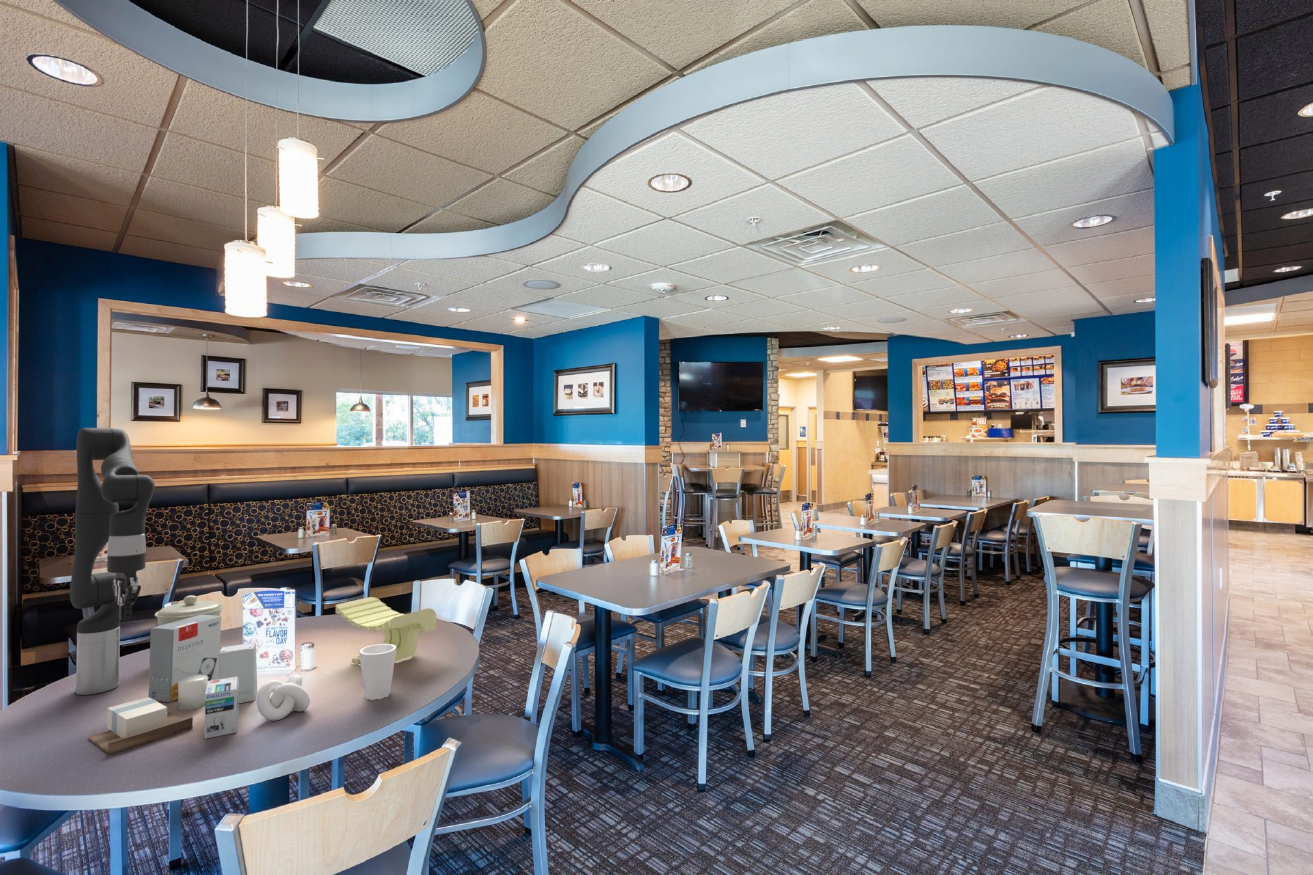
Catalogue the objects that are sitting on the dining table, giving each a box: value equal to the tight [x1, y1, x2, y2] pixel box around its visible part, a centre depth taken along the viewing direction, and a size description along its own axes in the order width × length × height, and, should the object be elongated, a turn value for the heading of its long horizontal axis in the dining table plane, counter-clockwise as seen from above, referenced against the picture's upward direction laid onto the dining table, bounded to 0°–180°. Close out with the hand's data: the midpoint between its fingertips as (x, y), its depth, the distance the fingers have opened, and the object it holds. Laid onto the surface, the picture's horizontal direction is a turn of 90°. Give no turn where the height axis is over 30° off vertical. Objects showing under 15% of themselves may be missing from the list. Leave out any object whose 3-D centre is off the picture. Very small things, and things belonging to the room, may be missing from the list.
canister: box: [154, 595, 224, 626], centre depth 203 cm, size 18×18×21 cm
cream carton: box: [107, 696, 168, 738], centre depth 152 cm, size 5×8×12 cm
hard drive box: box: [147, 615, 222, 703], centre depth 177 cm, size 16×8×20 cm, turn 168°
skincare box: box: [218, 641, 258, 704], centre depth 170 cm, size 8×6×15 cm
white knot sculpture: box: [256, 674, 311, 722], centre depth 162 cm, size 11×12×9 cm
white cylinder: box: [177, 675, 208, 711], centre depth 167 cm, size 6×6×7 cm
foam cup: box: [358, 643, 396, 701], centre depth 174 cm, size 10×9×13 cm
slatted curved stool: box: [335, 596, 437, 666], centre depth 203 cm, size 30×16×18 cm, turn 59°
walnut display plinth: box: [88, 712, 194, 755], centre depth 150 cm, size 14×16×3 cm
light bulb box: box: [204, 677, 239, 740], centre depth 153 cm, size 11×7×11 cm, turn 33°
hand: (125, 619), depth 159 cm, fingers closed
